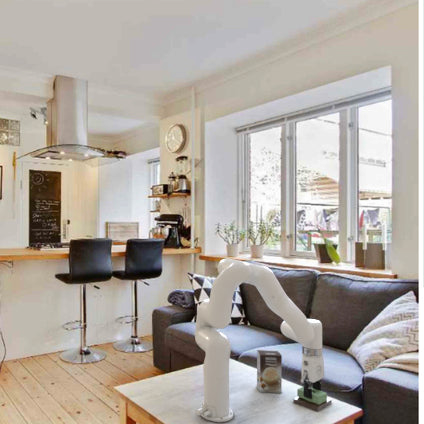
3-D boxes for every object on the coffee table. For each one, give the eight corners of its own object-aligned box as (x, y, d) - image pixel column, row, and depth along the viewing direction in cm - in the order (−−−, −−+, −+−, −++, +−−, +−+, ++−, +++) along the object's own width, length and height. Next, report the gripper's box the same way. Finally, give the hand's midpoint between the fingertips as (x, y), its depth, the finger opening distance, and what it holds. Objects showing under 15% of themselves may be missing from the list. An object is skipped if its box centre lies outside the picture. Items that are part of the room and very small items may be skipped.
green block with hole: (318, 404, 164) (319, 397, 164) (297, 396, 171) (297, 389, 171) (327, 400, 168) (327, 393, 168) (305, 392, 175) (305, 385, 175)
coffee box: (260, 392, 179) (259, 354, 179) (256, 386, 185) (256, 349, 185) (282, 393, 178) (281, 355, 178) (278, 386, 184) (277, 350, 184)
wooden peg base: (317, 411, 162) (317, 401, 162) (293, 402, 170) (293, 392, 170) (331, 403, 169) (331, 393, 168) (307, 394, 176) (307, 385, 176)
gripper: (309, 358, 161) (310, 404, 161) (331, 348, 171) (332, 392, 171) (291, 353, 167) (292, 398, 167) (313, 344, 177) (314, 386, 177)
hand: (312, 394), depth 169 cm, fingers closed on green block with hole, 6 cm apart
